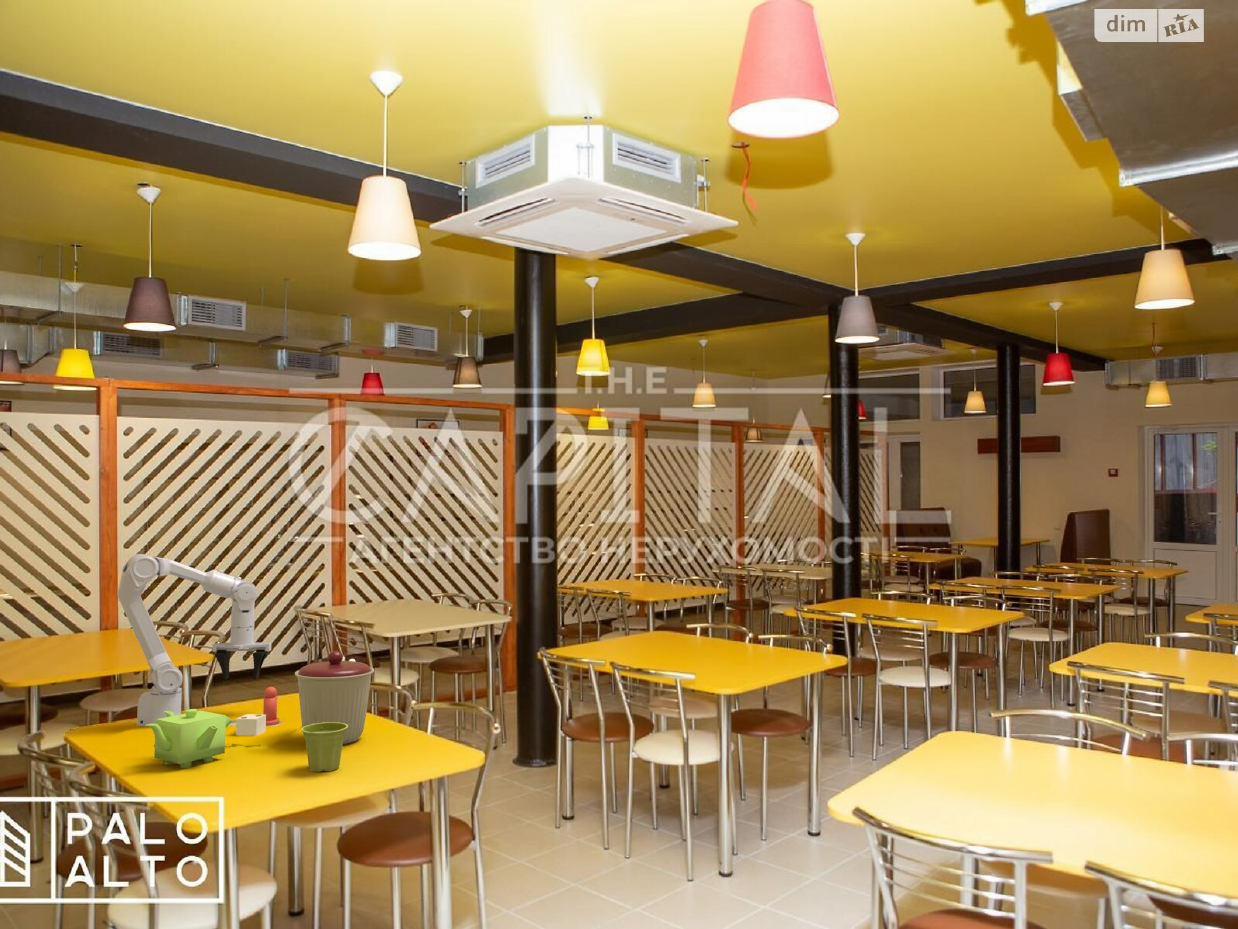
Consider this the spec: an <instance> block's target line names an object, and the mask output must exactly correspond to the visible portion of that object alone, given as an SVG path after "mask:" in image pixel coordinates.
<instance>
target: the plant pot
mask: <svg viewBox="0 0 1238 929" xmlns="http://www.w3.org/2000/svg"><path fill="white" fill-rule="evenodd" d="M347 728H348V725H347V724H345V723H338V722H324V723H316V724H311V725H307V726H304V727H303V728H302V727H301V733H302V734H303V738H304V740H305V747H306V755H307V762H308V763H307V764H308V769H309V770H308V771H311V772H314V773H320V772H322V771H323V772H324V771H326V772H332V771H335V770H337V769H338V768H339V767H340V765H341V763H340V762H341V758H342V752H343V751H342V750H343V745H344V744H343V739H344V735H345V732H346V729H347Z"/></svg>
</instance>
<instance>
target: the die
mask: <svg viewBox="0 0 1238 929" xmlns="http://www.w3.org/2000/svg"><path fill="white" fill-rule="evenodd" d="M235 720H236V726H235V736H239V737H240V736H242V737H243V736H245V737H257V736H259V735H261V734H263V733H265V732H266V731H267V730H266V729H267V728H266V727H267V726H266V715H263V714H252V713H251V714H250V713H247V714H244V715H242V716H240V717H237V718H236V719H235Z"/></svg>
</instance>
